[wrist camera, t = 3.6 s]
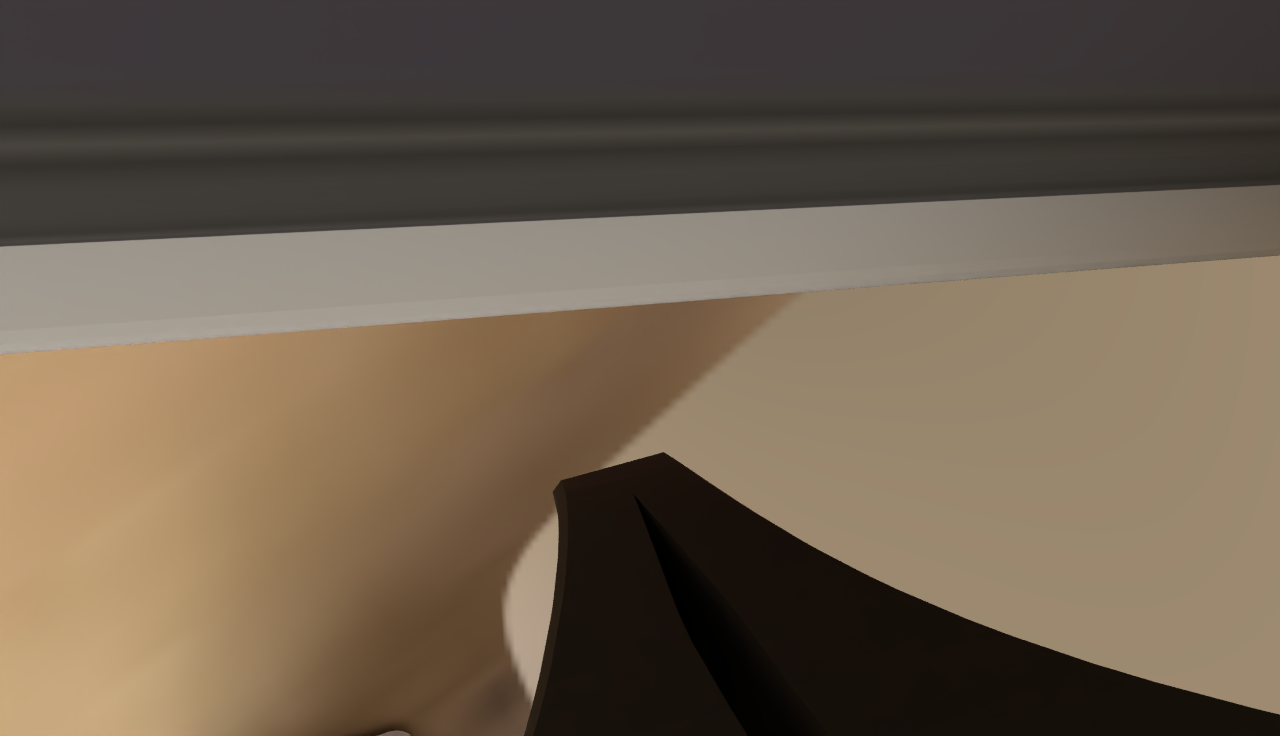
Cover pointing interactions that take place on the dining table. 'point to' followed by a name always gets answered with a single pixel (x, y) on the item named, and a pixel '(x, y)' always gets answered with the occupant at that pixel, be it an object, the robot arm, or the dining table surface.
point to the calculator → (605, 153)
